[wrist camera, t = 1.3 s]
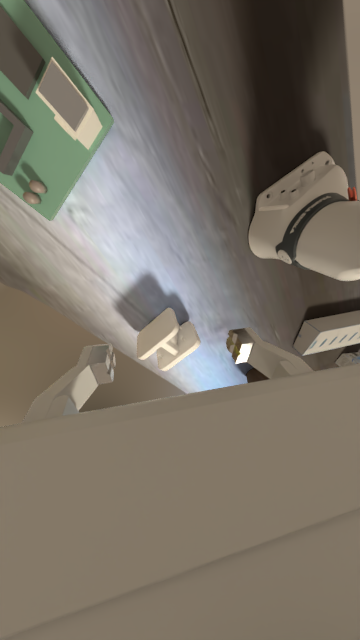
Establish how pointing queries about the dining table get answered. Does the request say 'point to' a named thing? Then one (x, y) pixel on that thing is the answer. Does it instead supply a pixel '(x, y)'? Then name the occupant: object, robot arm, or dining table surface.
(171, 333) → the cable organizer
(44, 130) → the board
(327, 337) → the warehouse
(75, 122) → the plug
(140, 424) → the robot arm
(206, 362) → the dining table surface
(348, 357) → the light bulb box
